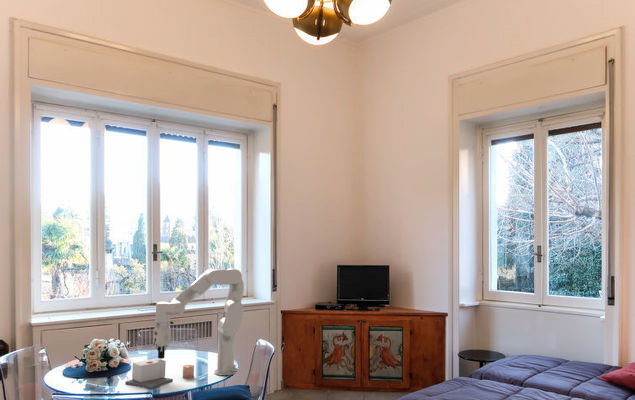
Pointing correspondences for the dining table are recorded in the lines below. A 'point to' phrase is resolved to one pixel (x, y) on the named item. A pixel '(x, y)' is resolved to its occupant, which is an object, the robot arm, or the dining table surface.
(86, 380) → the dining table surface
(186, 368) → the tan small cube
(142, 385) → the board
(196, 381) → the dining table surface
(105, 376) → the dining table surface
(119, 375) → the dining table surface
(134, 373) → the supplement box
